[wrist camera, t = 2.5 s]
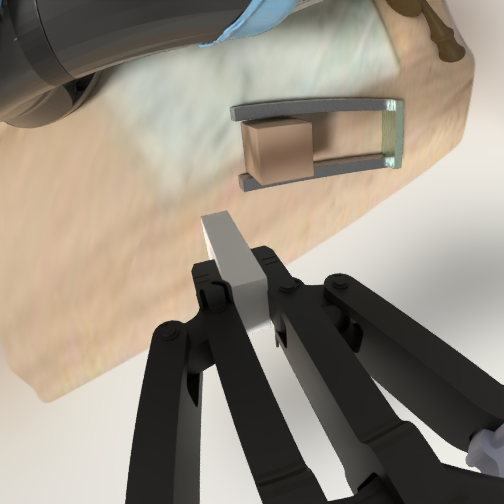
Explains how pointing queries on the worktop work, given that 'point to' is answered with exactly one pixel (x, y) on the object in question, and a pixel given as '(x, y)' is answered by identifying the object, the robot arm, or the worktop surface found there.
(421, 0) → the kendama
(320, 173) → the chute
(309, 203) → the worktop surface
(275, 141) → the chute block
